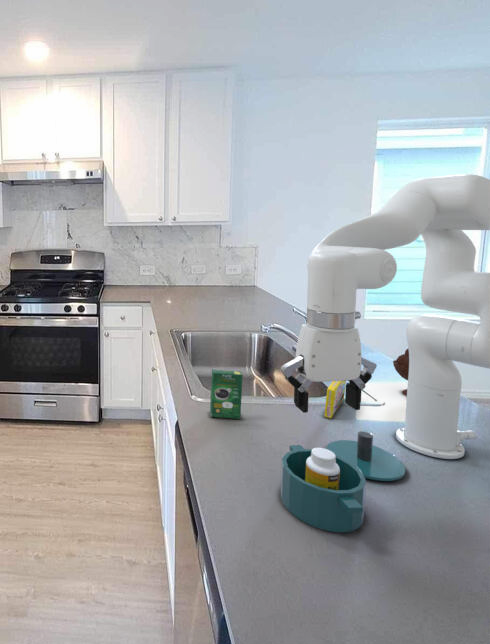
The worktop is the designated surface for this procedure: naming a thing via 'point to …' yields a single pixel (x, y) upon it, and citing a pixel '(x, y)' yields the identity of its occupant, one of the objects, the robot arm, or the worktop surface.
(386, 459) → the lid
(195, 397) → the worktop surface
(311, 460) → the supplement bottle
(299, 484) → the pot
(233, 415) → the coffee box
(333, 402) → the candy box
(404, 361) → the ice cream bowl
